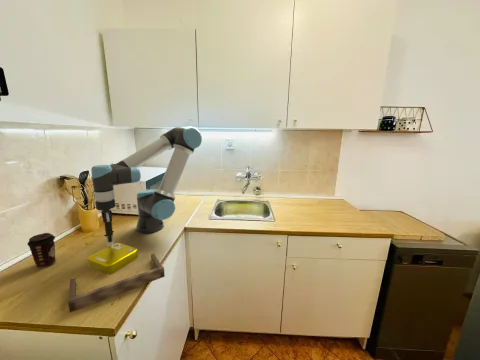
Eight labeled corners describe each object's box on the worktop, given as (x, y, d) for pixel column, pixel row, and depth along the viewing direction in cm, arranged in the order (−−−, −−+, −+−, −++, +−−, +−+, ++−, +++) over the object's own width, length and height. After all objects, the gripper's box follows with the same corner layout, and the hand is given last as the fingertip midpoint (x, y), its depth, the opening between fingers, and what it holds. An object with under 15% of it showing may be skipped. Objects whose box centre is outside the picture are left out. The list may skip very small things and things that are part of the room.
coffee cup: (57, 256, 98) (52, 230, 95) (61, 263, 93) (56, 235, 90) (31, 264, 91) (25, 237, 89) (34, 272, 86) (28, 243, 83)
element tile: (86, 266, 91) (84, 256, 90) (118, 249, 105) (116, 240, 104) (109, 276, 86) (108, 265, 85) (140, 257, 99) (139, 247, 98)
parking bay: (154, 259, 97) (154, 251, 96) (164, 276, 85) (164, 267, 84) (71, 286, 79) (69, 276, 78) (69, 312, 68) (67, 301, 67)
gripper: (94, 197, 99) (100, 243, 104) (95, 205, 88) (102, 256, 93) (113, 194, 103) (118, 239, 108) (116, 202, 93) (121, 250, 98)
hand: (110, 247), depth 101 cm, fingers closed
